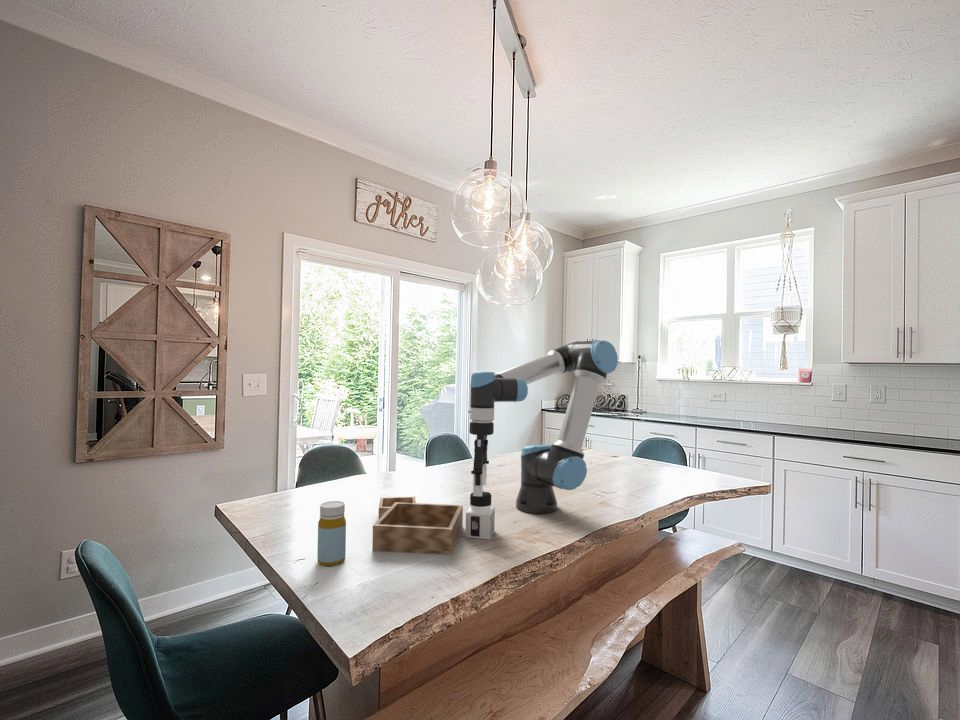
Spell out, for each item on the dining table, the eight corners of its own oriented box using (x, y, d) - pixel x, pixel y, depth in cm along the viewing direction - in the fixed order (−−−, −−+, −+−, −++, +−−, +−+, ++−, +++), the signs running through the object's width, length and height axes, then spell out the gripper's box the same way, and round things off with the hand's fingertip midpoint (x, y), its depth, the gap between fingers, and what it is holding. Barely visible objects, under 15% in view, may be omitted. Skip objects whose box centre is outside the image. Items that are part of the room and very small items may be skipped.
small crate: (415, 513, 163) (415, 496, 163) (415, 524, 151) (416, 506, 151) (380, 514, 161) (380, 497, 161) (378, 526, 149) (378, 508, 149)
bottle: (321, 556, 125) (322, 500, 126) (347, 555, 126) (348, 500, 126) (314, 567, 118) (315, 508, 119) (342, 566, 119) (343, 508, 119)
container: (490, 540, 139) (490, 496, 139) (465, 537, 140) (465, 494, 141) (494, 531, 146) (495, 489, 147) (470, 529, 148) (471, 488, 148)
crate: (462, 526, 150) (462, 505, 150) (451, 554, 127) (452, 529, 128) (394, 523, 152) (395, 502, 152) (372, 550, 130) (372, 525, 130)
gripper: (474, 416, 157) (472, 480, 156) (464, 425, 132) (462, 500, 131) (496, 417, 156) (494, 481, 156) (490, 426, 131) (488, 502, 131)
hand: (479, 490), depth 143 cm, fingers open, 13 cm apart
